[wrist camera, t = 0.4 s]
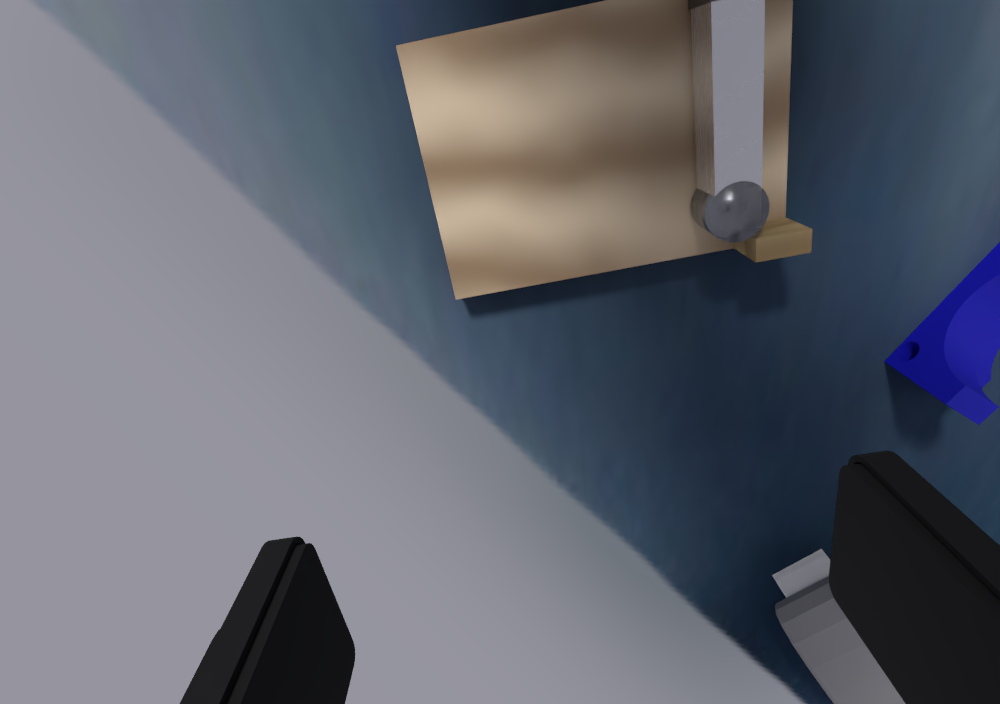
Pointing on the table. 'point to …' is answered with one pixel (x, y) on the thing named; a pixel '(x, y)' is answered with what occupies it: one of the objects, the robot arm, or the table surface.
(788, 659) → the table surface
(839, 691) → the alarm clock
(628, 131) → the stool seat
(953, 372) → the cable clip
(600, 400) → the table surface
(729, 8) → the folding leg
